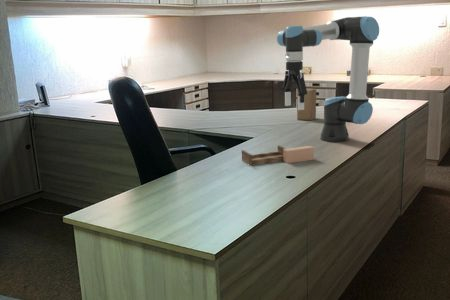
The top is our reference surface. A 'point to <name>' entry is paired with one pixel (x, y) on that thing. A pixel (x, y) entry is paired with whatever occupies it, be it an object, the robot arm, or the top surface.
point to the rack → (263, 157)
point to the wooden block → (308, 105)
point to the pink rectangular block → (298, 154)
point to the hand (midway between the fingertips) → (294, 107)
